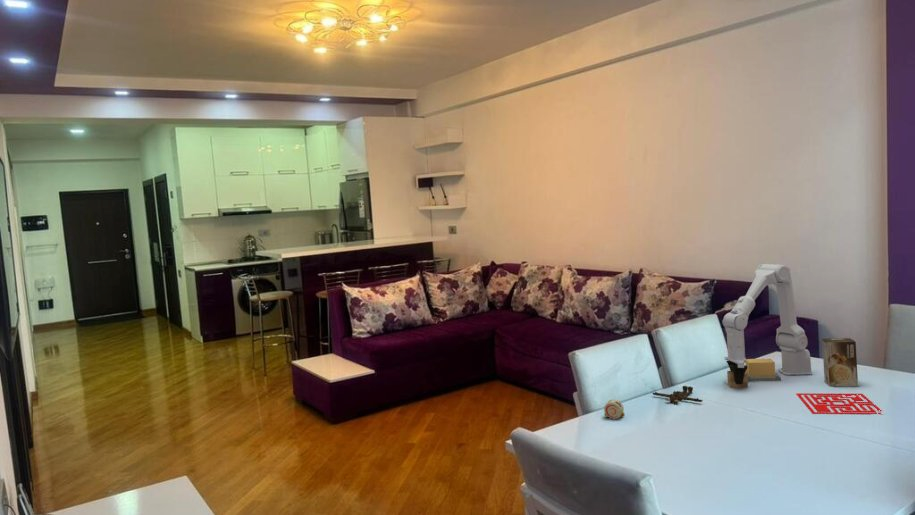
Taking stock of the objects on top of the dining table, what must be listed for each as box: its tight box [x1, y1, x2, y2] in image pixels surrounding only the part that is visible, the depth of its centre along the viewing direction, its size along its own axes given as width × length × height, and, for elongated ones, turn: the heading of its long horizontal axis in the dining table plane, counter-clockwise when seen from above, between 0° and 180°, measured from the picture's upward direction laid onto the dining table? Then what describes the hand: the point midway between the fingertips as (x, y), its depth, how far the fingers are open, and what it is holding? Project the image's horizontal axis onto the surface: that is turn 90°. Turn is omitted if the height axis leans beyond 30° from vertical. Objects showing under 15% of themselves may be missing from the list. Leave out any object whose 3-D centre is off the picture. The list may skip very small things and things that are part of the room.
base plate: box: [747, 371, 782, 383], centre depth 235 cm, size 12×12×2 cm
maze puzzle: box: [795, 392, 883, 415], centre depth 200 cm, size 20×20×1 cm
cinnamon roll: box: [603, 398, 625, 420], centre depth 204 cm, size 4×6×6 cm
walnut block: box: [726, 370, 749, 389], centre depth 226 cm, size 6×4×5 cm
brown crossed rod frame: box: [652, 385, 704, 404], centre depth 218 cm, size 18×4×14 cm
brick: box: [744, 358, 776, 376], centre depth 234 cm, size 9×6×5 cm, turn 77°
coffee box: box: [821, 337, 859, 388], centre depth 218 cm, size 9×6×16 cm
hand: (737, 381), depth 226 cm, fingers closed on walnut block, 4 cm apart
